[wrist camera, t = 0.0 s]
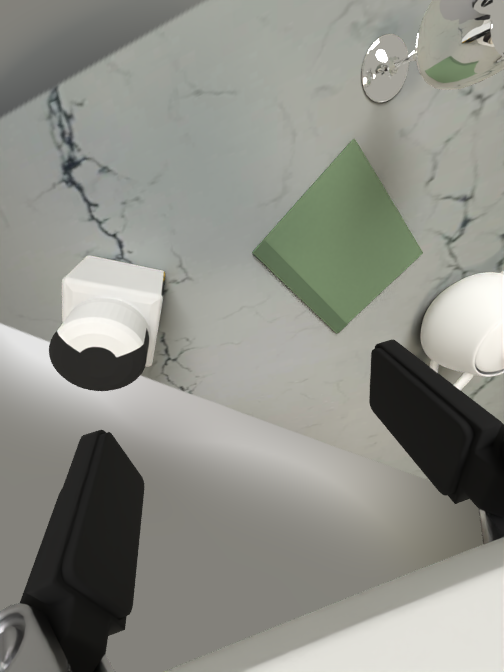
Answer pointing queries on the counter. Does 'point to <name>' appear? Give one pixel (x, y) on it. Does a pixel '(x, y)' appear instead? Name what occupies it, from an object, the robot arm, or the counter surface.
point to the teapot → (467, 327)
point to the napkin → (340, 241)
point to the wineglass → (440, 49)
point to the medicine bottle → (107, 323)
